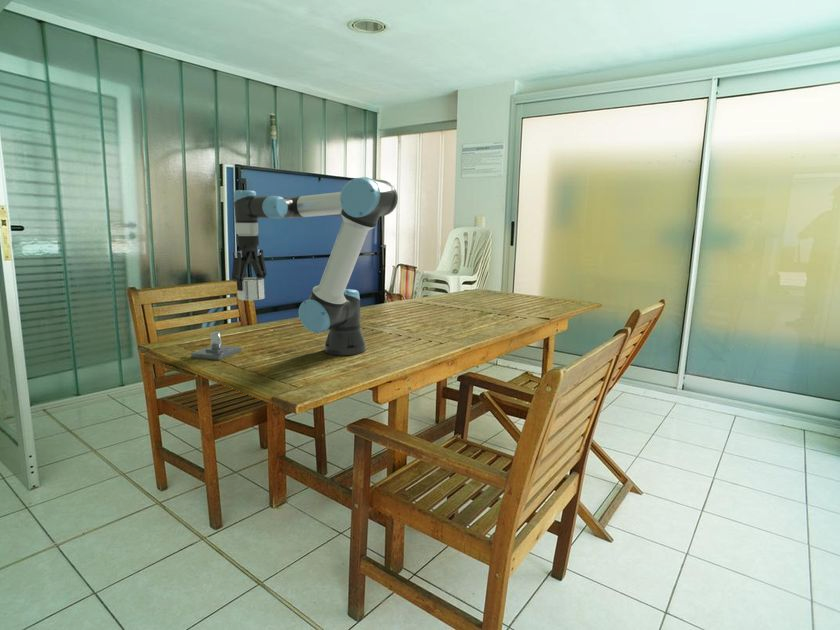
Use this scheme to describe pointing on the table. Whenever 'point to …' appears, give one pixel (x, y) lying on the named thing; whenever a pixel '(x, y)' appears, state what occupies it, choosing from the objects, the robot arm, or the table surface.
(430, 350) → the table surface
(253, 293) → the ring
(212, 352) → the shaft block
